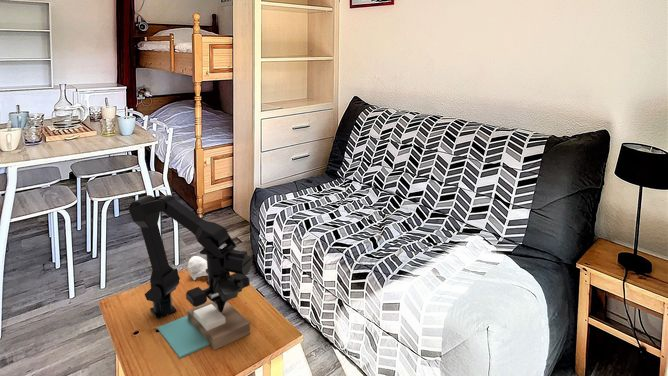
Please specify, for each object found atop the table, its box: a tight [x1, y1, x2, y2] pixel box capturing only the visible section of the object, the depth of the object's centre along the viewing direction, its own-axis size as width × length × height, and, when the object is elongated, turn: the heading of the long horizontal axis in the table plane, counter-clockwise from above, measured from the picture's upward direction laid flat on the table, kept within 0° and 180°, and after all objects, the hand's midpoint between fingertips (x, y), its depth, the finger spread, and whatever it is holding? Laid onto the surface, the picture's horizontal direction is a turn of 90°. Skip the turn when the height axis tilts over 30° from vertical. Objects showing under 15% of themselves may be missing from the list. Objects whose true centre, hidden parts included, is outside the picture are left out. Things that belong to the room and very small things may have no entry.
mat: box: [156, 315, 210, 359], centre depth 133 cm, size 17×10×1 cm, turn 42°
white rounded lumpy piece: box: [186, 255, 208, 281], centre depth 164 cm, size 6×8×12 cm
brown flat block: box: [186, 300, 251, 351], centre depth 137 cm, size 18×12×4 cm, turn 42°
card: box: [194, 304, 226, 331], centre depth 135 cm, size 9×6×2 cm, turn 42°
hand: (220, 311), depth 137 cm, fingers closed
